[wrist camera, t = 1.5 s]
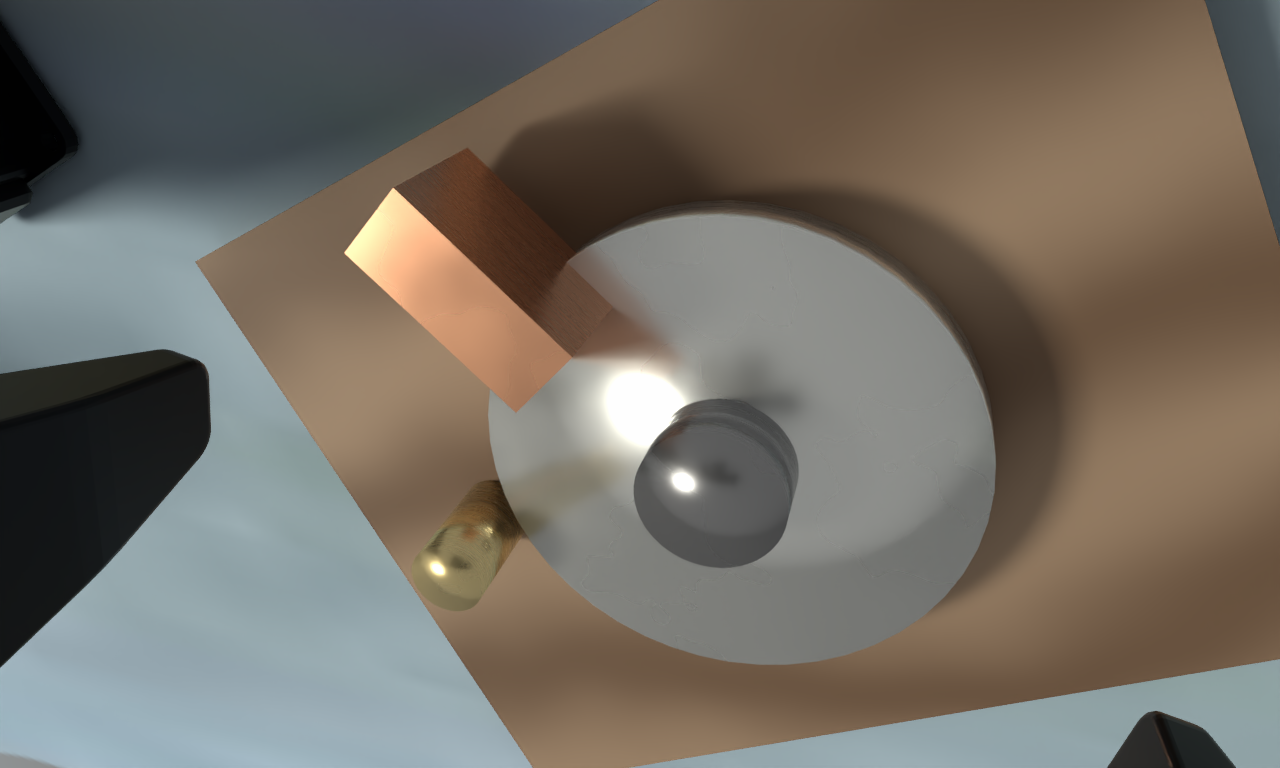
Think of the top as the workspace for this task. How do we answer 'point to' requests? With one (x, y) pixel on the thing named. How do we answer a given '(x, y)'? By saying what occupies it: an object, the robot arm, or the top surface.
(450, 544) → the brass dowel
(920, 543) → the flange plate
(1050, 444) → the base board
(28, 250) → the top surface
